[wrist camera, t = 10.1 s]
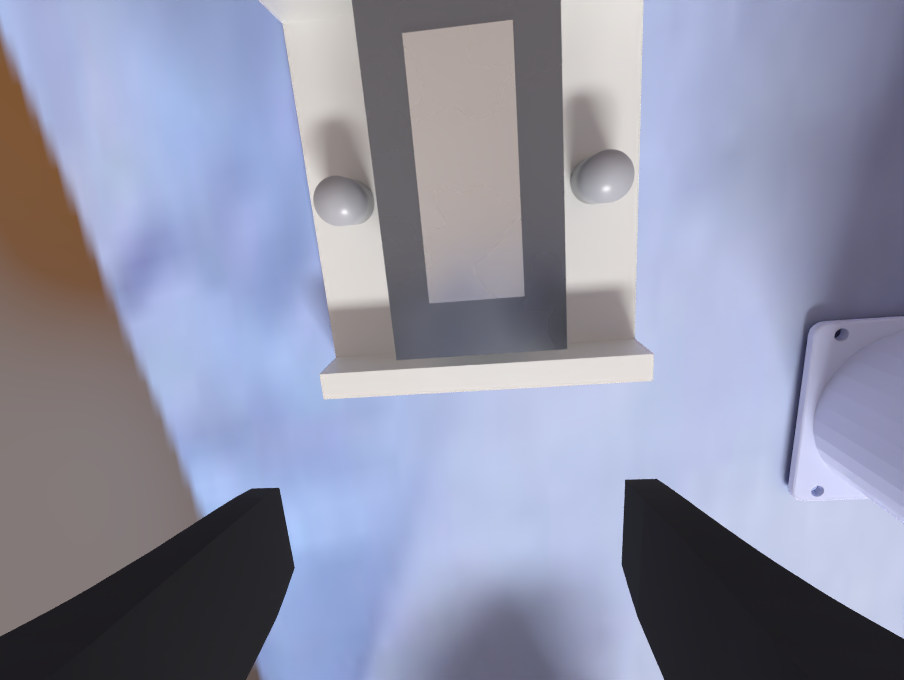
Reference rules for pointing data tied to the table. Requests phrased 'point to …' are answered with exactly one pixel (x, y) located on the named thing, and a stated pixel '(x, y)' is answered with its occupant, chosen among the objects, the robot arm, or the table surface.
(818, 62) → the table surface
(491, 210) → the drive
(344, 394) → the tray
